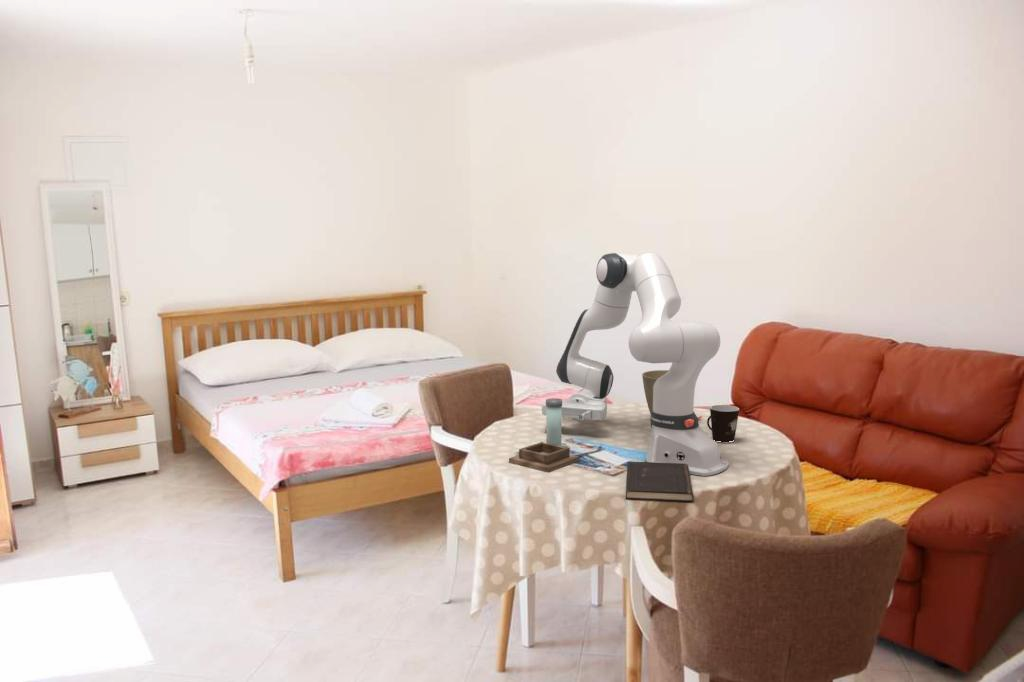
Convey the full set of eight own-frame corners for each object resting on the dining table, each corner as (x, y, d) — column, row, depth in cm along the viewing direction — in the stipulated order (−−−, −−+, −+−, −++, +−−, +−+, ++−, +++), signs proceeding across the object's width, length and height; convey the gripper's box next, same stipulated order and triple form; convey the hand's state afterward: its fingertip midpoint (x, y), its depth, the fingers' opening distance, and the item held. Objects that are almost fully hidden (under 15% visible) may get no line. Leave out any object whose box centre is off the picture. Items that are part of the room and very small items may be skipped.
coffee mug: (729, 435, 262) (730, 404, 261) (743, 443, 254) (744, 410, 252) (694, 438, 259) (695, 406, 258) (707, 445, 251) (708, 412, 250)
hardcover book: (625, 499, 205) (625, 490, 204) (627, 469, 227) (627, 461, 227) (692, 502, 202) (693, 493, 202) (688, 472, 225) (688, 463, 224)
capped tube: (565, 448, 249) (565, 399, 247) (555, 451, 245) (555, 402, 243) (552, 445, 252) (552, 397, 250) (542, 448, 248) (542, 400, 246)
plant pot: (635, 417, 286) (636, 371, 284) (677, 415, 289) (678, 369, 286) (650, 428, 272) (651, 379, 269) (693, 426, 274) (695, 377, 272)
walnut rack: (579, 460, 237) (579, 447, 236) (548, 472, 226) (548, 458, 226) (540, 451, 246) (540, 439, 245) (509, 462, 235) (508, 449, 235)
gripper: (550, 394, 273) (534, 402, 261) (611, 399, 266) (598, 408, 253) (550, 413, 274) (534, 422, 262) (611, 418, 267) (598, 428, 254)
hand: (566, 415), depth 257 cm, fingers open, 8 cm apart
